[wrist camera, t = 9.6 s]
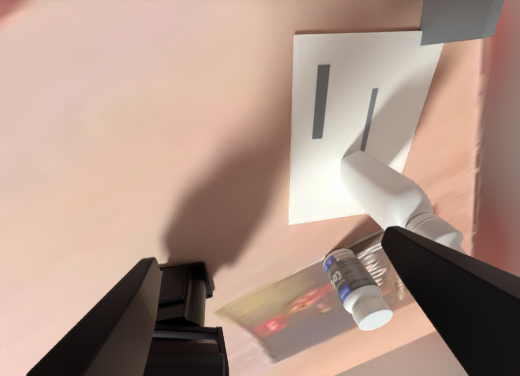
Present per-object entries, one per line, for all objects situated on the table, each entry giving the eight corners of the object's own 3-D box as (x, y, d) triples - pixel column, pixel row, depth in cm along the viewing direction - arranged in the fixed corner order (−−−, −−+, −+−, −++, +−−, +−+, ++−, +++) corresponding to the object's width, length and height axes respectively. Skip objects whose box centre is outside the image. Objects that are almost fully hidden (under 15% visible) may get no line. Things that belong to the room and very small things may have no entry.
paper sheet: (387, 208, 26) (390, 210, 26) (288, 223, 25) (288, 225, 24) (444, 30, 17) (449, 29, 17) (293, 35, 16) (295, 34, 15)
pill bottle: (321, 252, 28) (356, 315, 21) (354, 243, 28) (400, 302, 21) (322, 274, 31) (354, 337, 23) (352, 266, 31) (393, 325, 24)
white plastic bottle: (382, 148, 21) (530, 223, 11) (366, 195, 24) (472, 291, 14) (342, 148, 21) (460, 228, 10) (330, 197, 23) (413, 297, 13)
